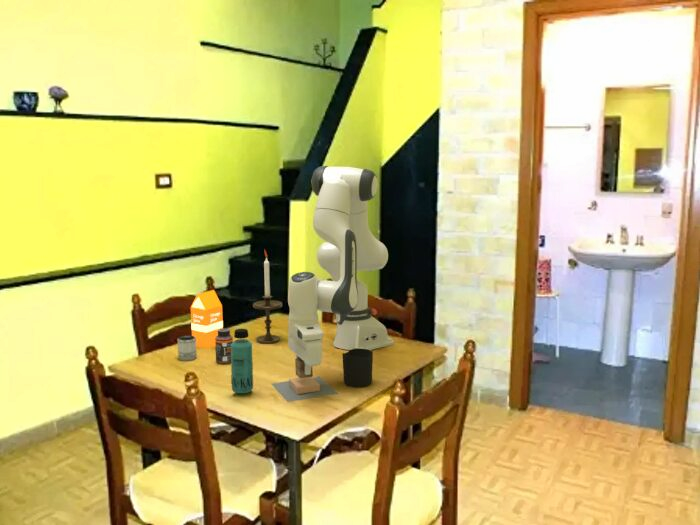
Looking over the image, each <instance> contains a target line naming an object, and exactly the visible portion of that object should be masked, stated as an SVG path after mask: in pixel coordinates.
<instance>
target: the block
mask: <svg viewBox="0 0 700 525" xmlns="http://www.w3.org/2000/svg"><path fill="white" fill-rule="evenodd" d="M294 360H295V362H294V363H295V376H297V378H306V377H312V378H313V376H314V375H313V366H312V367H311V374H310V375H305V374H304V368H305V364H304V361H303V360H302V359H301V358H296V357H295V359H294Z"/></svg>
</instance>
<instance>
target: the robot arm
mask: <svg viewBox="0 0 700 525" xmlns="http://www.w3.org/2000/svg"><path fill="white" fill-rule="evenodd" d="M310 182H311V190H312V192H313V193H314V195H315V196H317V199H316V202H315V203H316V204H315V208H314V214H313V216H312V217H313V218H312V226H313V229H314V232H315V234H317V236H318V237H319V238H320V239H322V240H323V241H325V242H322V243H321V244H320V245H319V247H318V248H317V252H316V260H317V263H318V265H319V266H320V268H322V269H323V270H325V272H326V273H328V275H329V276H330V277H331V279H332V280H325V279H320V278H319V277H316V274H315V273H313V272H309V271H302V272H296V273H295V274H292V275H291V276H290V278H289V283H288V292H287V293H288V294H287V295H288V296H287V303H288V307H289V313H288V332H287V334H288V336H287V345H288V346H287V347H288V349H289V350H290V351H292V352H293V354H295V359H296V358H301V359H302V360H303V361H304V364H305V368H304V374H305V375H310V374H311V367H312V368H313V367H315V366H320V365H321V363H322V361H323V360H322V358H323V342H322V340H323V339H324V332H323V329H322V328H321V326H320V323H319V313H318V311H319V312H323V313H324V312H325V313H331V314H332V313H333V314H335V318H336V320H335V321H336V330H335V335H334V336H335V337H334V340H333V343H332V344H333V346H334V347H336V348H337V349H340V350H341V349H342V350H347V351H350V350H352V349H356V348H361V349H368V350H370V351H372V350H376V349H381V348H384V347H385V348H386V347H390V346H393V345H394V339H393V338H392V337H390V336H388V329H387V328H386V326H385V325H384V324H383V323H381V322H380V321H379V320H377V319H376V318H375V317H373V316H372V315H374V316H375V315H377V313H378V312H377V310H376V309H375V308H372V307H369V306H368V293H369V292H368V287H367V285H366V284H365V283H364V282H363V281H361V280H359V279H357V275H358V274H357V272H358V271H359V272H360V271H361V272H372V271H377V270H382V269H383V268H384V267H385V266H386V264H387V263H388V260H389V252H388V248H387V247H386V245H385V244H384V243H383V242H381V241H380V240H378V239H377V238H376V237H375V236H374V235H373V233H372V231H371V229H370V226H369V218H368V217H369V216H368V215H369V214H368V212H369V211H368V201H370V200H373V198H375V196H376V194H377V191H378V188H379V187H378V185H379V183H378V179H377V175H376V173H375V172H374V171H373V170H371V169H368V168H359V167H352V166H328V165H323V166H318V167H317V168H316V169H315V170H314V171H313V173H312V177H311V181H310Z"/></svg>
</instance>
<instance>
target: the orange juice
mask: <svg viewBox="0 0 700 525" xmlns="http://www.w3.org/2000/svg"><path fill="white" fill-rule="evenodd" d="M190 321H191V322H190V324H191V326H190V328H191V336H194V337H195V338H196V347H198V348H203V349H209V348H212V347H215V338H216V336H218V330H219V329H224V320H223V304H222V303H221V301H220V299H219V297H218V295H217V293H216V291H215V289H212V290H207V291H204V292H200V293H197V294H196V296H195V298H194V300H193V302H192V304H191V306H190Z"/></svg>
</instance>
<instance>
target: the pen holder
mask: <svg viewBox="0 0 700 525" xmlns="http://www.w3.org/2000/svg"><path fill="white" fill-rule="evenodd" d="M373 356H374V353H373V351H372V350H368V349H361V348H356V349H352V350H347V352H344V353H342V373H343V375H342V376H343V385H345V386H347V387H349V388H355V389H356V388H357V389H358V388H360V389H361V388H367V387H369V386H371V385H372V382H373V363H374V362H373V358H374V357H373Z"/></svg>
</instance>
